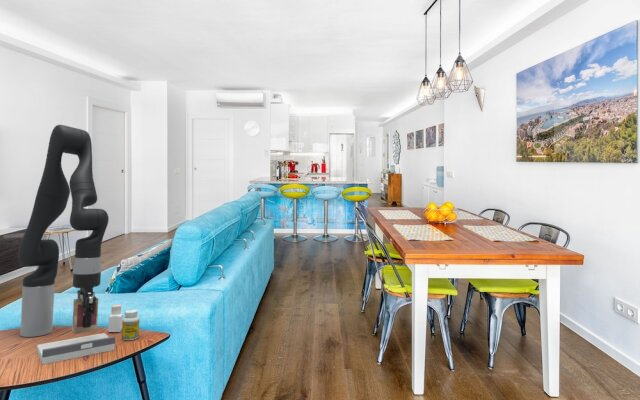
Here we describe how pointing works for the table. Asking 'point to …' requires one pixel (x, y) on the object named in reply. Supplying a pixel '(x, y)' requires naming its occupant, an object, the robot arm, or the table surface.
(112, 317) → the pepper shaker
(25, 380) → the table surface
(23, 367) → the table surface
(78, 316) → the tea box
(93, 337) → the shelf
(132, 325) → the supplement bottle
